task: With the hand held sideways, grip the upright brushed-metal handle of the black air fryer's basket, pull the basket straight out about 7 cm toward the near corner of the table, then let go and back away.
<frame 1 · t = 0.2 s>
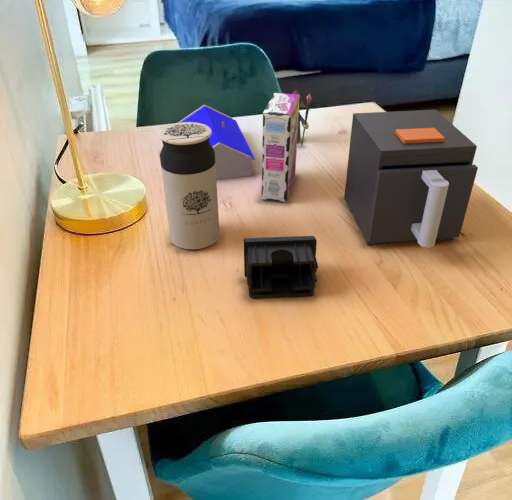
travel mug: (195, 238, 82), on the table
fryer housing: (394, 218, 86), on the table
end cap: (279, 282, 73), on the table
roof: (213, 156, 108), on the table
wizard figurine: (297, 142, 113), on the table
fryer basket: (410, 190, 79), point 7 cm above the table, slide at 0.0 cm
candy bar box: (279, 188, 96), on the table
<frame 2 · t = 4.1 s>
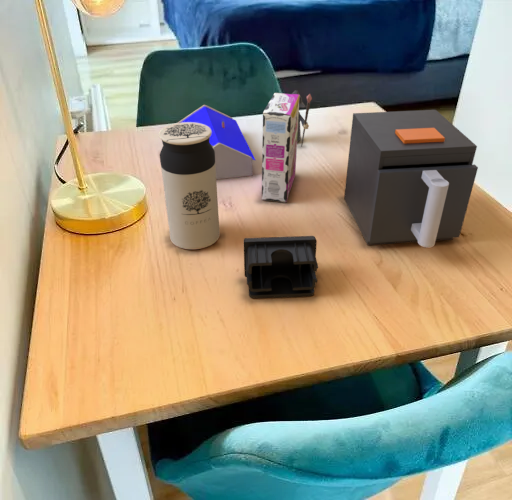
nothing on the table moved.
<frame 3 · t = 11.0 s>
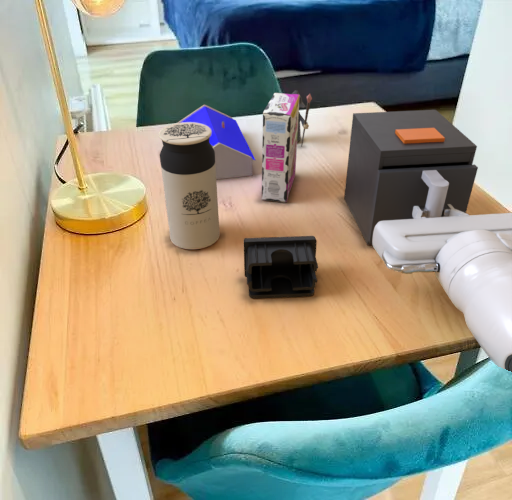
hand: (430, 209, 72), 9 cm above the table, tool horizontal, fingers closed on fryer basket, 2 cm apart
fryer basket: (410, 190, 79), point 7 cm above the table, slide at 0.0 cm, touching gripper
everything else where it was.
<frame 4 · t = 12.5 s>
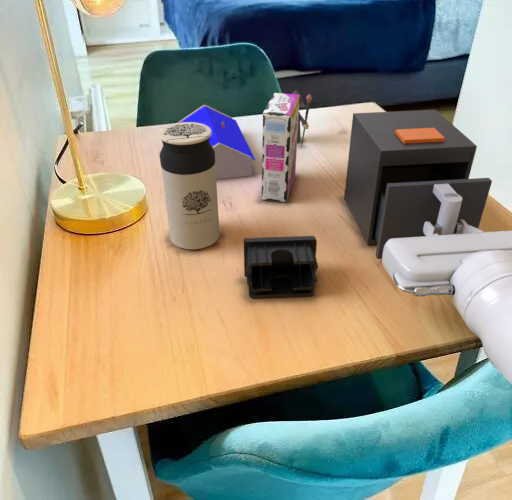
hand: (442, 224, 69), 9 cm above the table, tool horizontal, fingers closed on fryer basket, 2 cm apart
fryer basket: (419, 204, 76), point 7 cm above the table, slide at 4.2 cm, touching gripper
everything else where it was.
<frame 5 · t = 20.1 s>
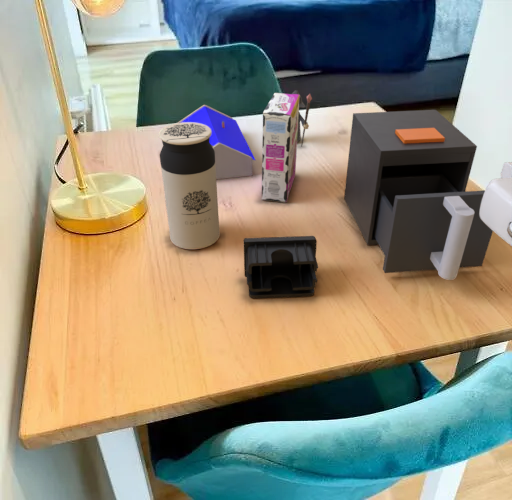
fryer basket: (428, 215, 73), point 7 cm above the table, slide at 7.6 cm
everything else where it was.
at the end: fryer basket slide at 7.6 cm; the gripper is holding nothing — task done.
